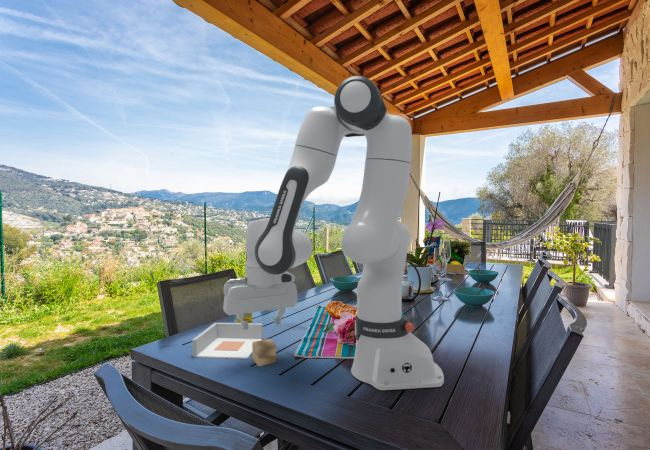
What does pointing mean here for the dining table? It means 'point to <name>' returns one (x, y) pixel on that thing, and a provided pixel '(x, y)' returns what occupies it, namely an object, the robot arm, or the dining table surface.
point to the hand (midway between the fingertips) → (261, 326)
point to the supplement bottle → (246, 318)
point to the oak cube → (264, 352)
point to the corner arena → (227, 341)
